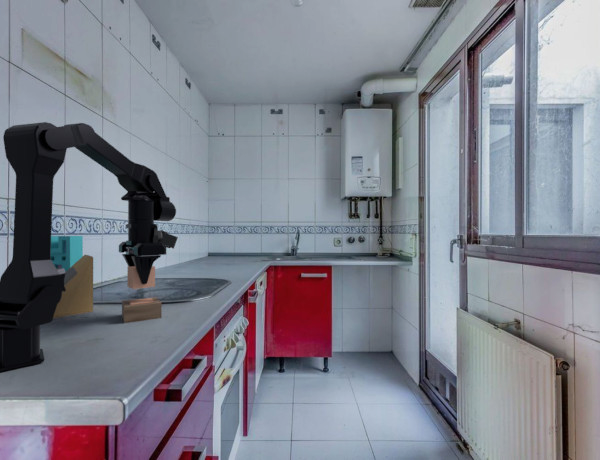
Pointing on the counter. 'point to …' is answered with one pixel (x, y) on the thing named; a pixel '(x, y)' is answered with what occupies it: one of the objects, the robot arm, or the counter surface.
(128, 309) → the oak base block
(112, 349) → the counter surface
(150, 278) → the terracotta cube
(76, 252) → the toy
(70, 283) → the sandwich container
